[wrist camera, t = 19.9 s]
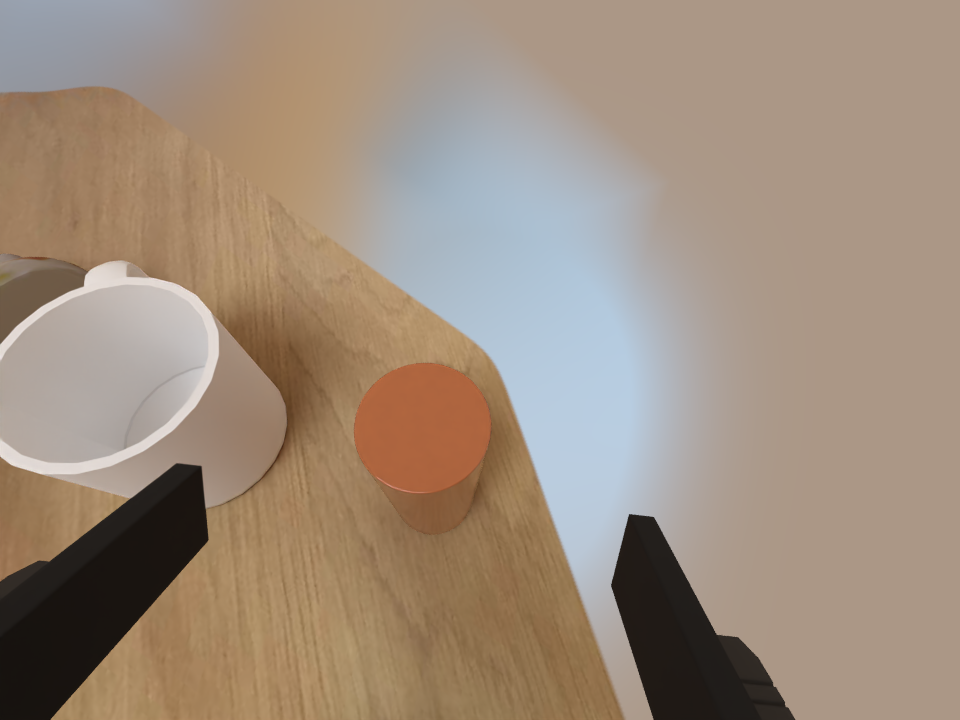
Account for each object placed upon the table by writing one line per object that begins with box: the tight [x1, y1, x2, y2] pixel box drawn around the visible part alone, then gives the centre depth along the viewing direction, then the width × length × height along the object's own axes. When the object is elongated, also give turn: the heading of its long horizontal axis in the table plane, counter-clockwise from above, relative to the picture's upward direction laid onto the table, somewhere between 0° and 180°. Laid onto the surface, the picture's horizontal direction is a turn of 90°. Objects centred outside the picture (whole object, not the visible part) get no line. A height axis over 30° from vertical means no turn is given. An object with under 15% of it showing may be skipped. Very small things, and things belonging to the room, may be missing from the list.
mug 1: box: [0, 254, 88, 344], centre depth 30 cm, size 8×10×10 cm
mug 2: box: [0, 260, 287, 508], centre depth 26 cm, size 13×10×10 cm
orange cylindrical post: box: [354, 363, 491, 535], centre depth 23 cm, size 5×5×14 cm
